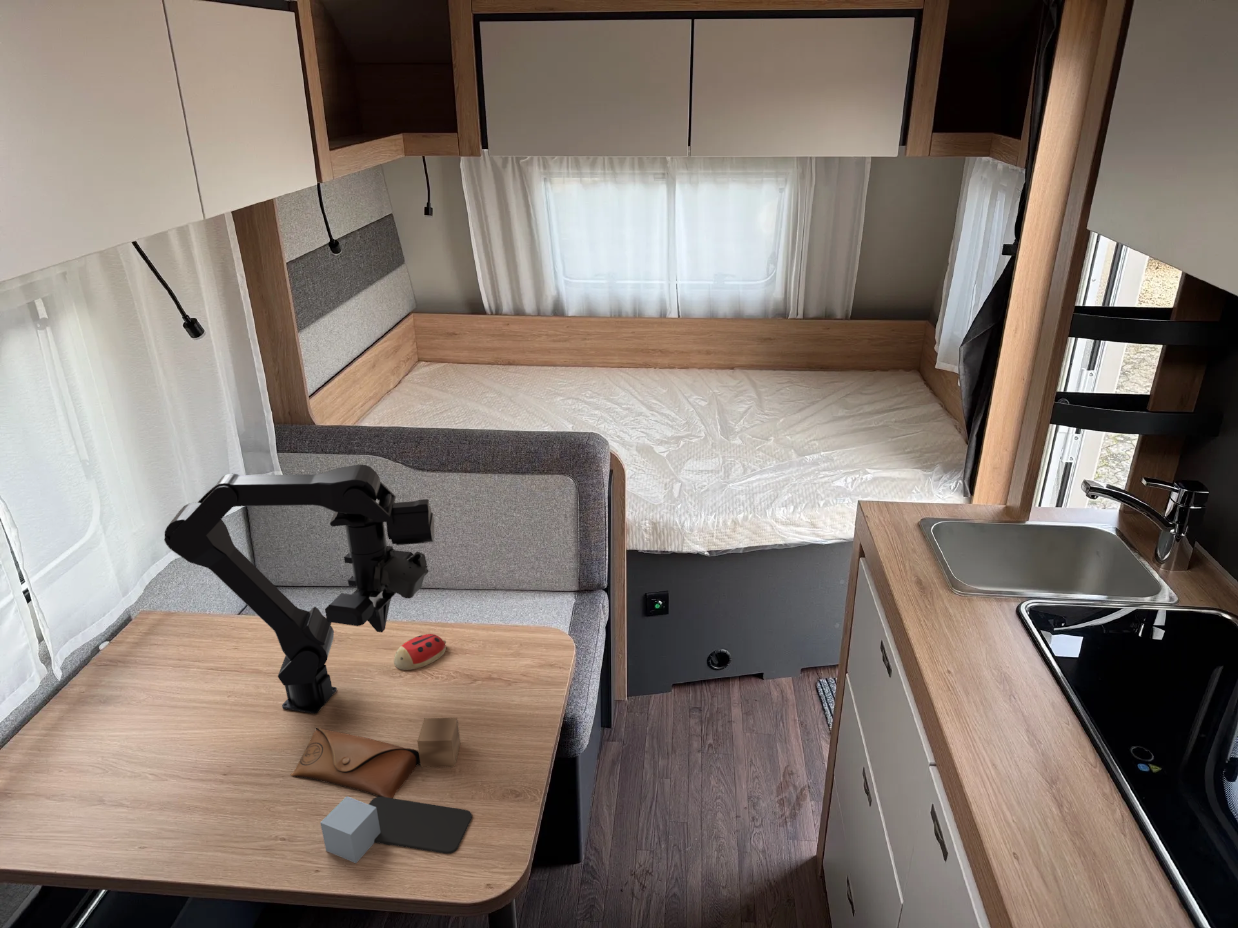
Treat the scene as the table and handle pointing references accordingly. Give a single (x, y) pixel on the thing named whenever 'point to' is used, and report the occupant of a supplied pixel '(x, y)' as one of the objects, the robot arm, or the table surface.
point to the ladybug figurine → (419, 652)
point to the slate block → (350, 829)
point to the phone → (420, 825)
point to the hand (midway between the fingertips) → (380, 630)
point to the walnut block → (439, 742)
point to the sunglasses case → (356, 762)
